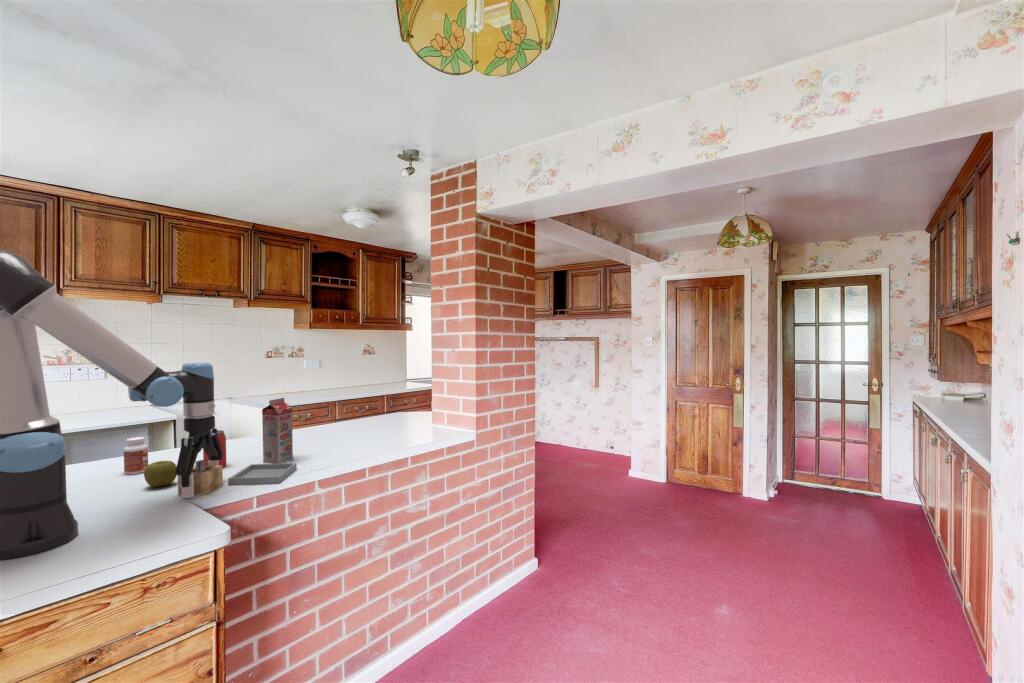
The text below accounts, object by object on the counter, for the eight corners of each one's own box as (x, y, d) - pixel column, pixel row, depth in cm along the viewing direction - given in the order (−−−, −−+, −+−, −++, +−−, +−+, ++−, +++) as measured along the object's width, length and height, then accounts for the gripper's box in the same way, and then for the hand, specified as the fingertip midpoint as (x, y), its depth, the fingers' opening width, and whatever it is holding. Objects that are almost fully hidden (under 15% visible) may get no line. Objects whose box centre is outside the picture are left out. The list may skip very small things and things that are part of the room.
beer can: (199, 468, 157) (198, 433, 157) (219, 463, 163) (218, 429, 163) (210, 471, 154) (209, 435, 154) (230, 466, 160) (229, 431, 160)
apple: (143, 485, 141) (143, 462, 140) (176, 479, 146) (176, 457, 146) (145, 492, 135) (144, 467, 135) (179, 486, 140) (178, 462, 140)
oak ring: (207, 494, 133) (207, 473, 133) (178, 495, 132) (177, 474, 132) (222, 485, 141) (222, 465, 141) (194, 485, 140) (194, 466, 140)
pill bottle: (147, 472, 153) (146, 439, 152) (123, 476, 149) (122, 441, 149) (149, 468, 158) (148, 435, 158) (125, 471, 155) (124, 437, 154)
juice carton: (263, 462, 164) (262, 400, 163) (277, 457, 170) (276, 397, 170) (278, 464, 162) (277, 400, 161) (292, 459, 168) (291, 398, 168)
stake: (203, 491, 135) (202, 462, 135) (194, 491, 135) (193, 462, 135) (207, 488, 138) (207, 459, 138) (199, 488, 138) (198, 460, 137)
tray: (278, 483, 142) (278, 477, 142) (228, 485, 141) (228, 478, 141) (296, 469, 157) (296, 463, 156) (250, 470, 155) (250, 464, 155)
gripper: (187, 424, 124) (190, 504, 125) (234, 408, 148) (235, 475, 149) (157, 425, 123) (160, 506, 124) (209, 408, 148) (211, 476, 148)
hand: (201, 489), depth 137 cm, fingers open, 12 cm apart
